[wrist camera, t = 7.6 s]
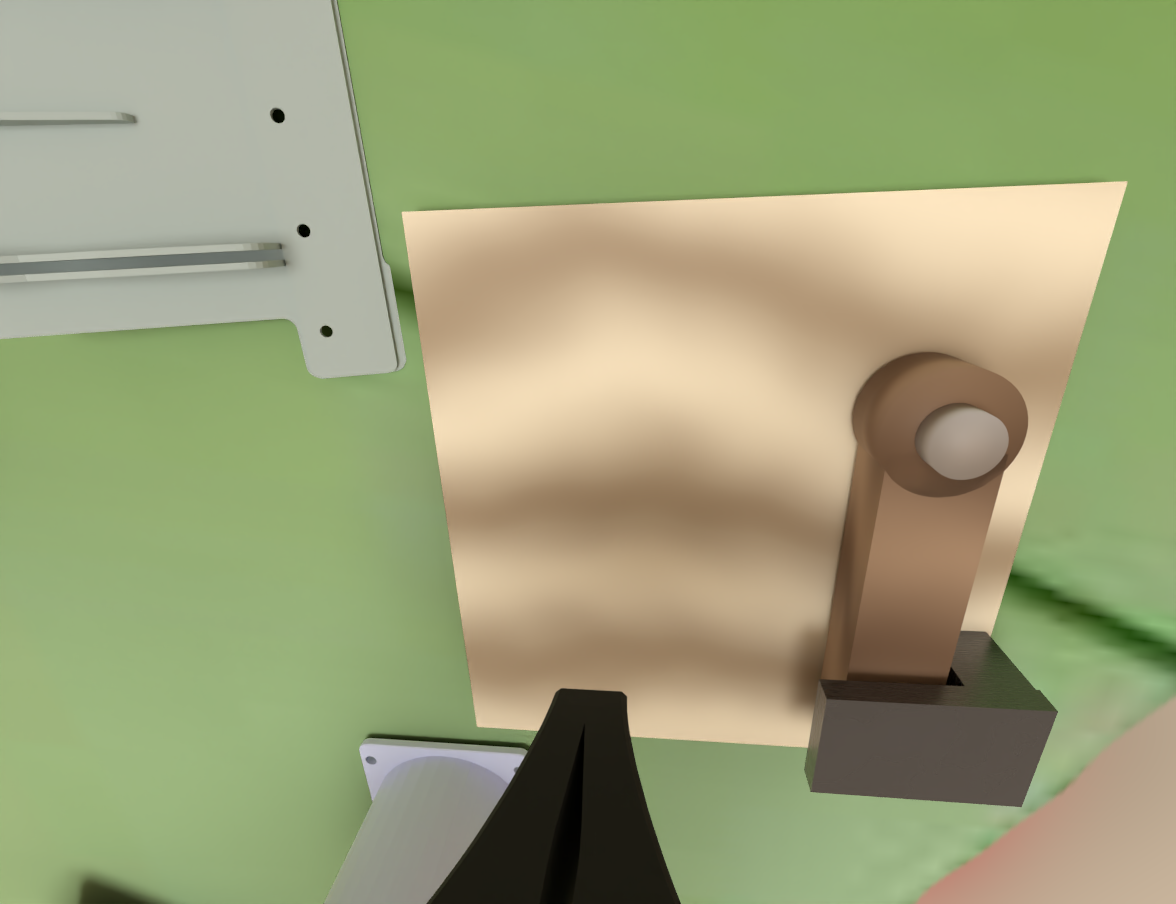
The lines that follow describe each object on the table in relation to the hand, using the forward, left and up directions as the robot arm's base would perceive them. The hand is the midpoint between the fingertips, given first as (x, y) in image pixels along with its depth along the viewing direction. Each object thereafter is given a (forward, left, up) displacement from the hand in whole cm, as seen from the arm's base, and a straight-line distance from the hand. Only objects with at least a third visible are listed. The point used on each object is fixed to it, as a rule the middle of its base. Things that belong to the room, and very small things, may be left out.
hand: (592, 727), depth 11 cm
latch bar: (-1, -9, -8) cm, 12 cm away
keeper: (-6, -10, -8) cm, 14 cm away
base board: (0, -4, -9) cm, 10 cm away
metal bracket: (+13, +13, -10) cm, 21 cm away
